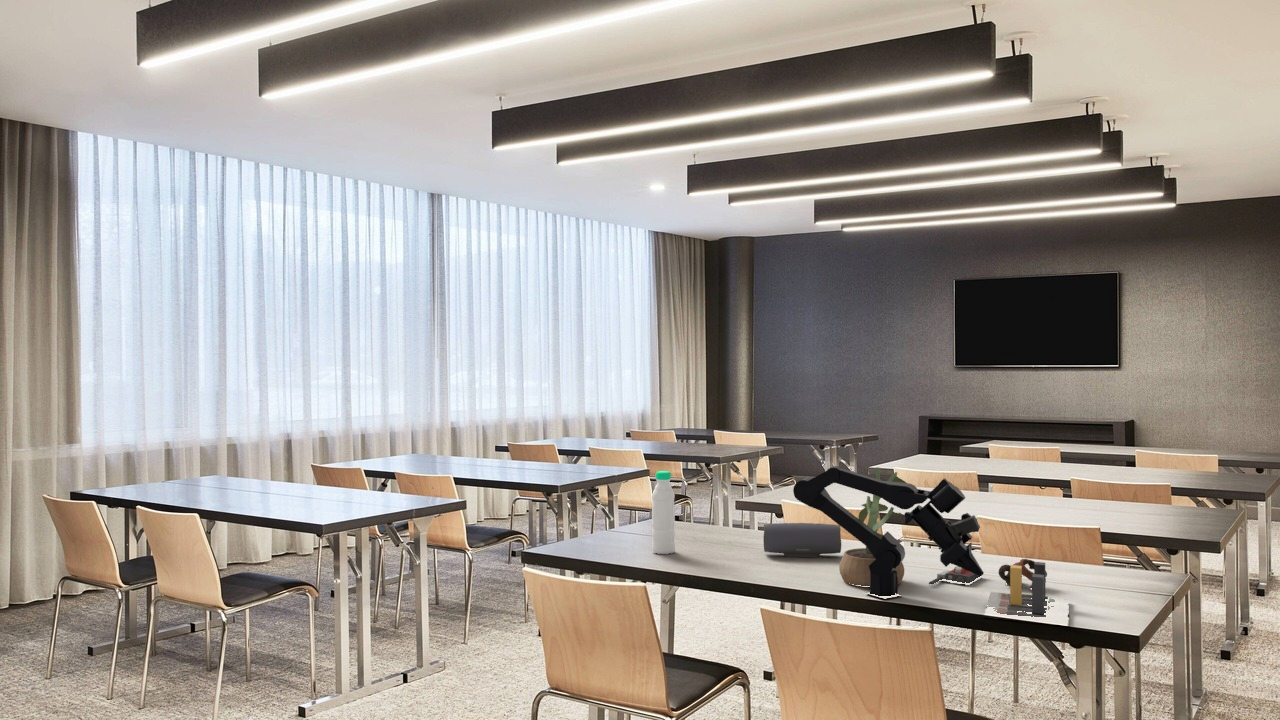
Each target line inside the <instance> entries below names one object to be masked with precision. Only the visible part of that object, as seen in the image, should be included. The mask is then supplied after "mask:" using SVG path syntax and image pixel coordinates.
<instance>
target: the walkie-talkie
mask: <svg viewBox="0 0 1280 720" xmlns="http://www.w3.org/2000/svg"><path fill="white" fill-rule="evenodd" d="M978 577H980V576H979V575H976V574H974V573H972V572H970V571H968V570H965V569H963V568H961V567H958V566H955V567H954V569H952V570H945V571H941V572H940V573H937V574H936V578H934V579H932V580H930V581H929V582H928V584H929V585H930V584H934V583H935V584H937V583H939V582H940V581H939V580H942V579H946V580H952V581H957V582H962V583H965V582H966V583H970V582H972V581H974V580H975V579H976V578H978ZM938 581H939V582H938ZM936 582H937V583H936ZM935 584H934V585H935Z"/></svg>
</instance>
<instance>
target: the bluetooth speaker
mask: <svg viewBox="0 0 1280 720" xmlns="http://www.w3.org/2000/svg"><path fill="white" fill-rule="evenodd" d="M763 552H765V553H770V554H771V553H773V554H783V556H785V557H786V556H790V557H789V558H820V556H821V555H827V554H828V555H831V554H840V553H841V552H842V538H841V526H840V525H838V524H831V523H830V524H829V523H828V524H827V523H813V522H809V523H808V522H784V523H783V522H782V523H781V522H779V523H777V522H776V523H766V524H763Z"/></svg>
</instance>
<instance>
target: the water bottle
mask: <svg viewBox="0 0 1280 720" xmlns="http://www.w3.org/2000/svg"><path fill="white" fill-rule="evenodd" d="M671 479H672V474H671V472H670V471H668V470H667V471H666V470H665V471H664V470H662V471H661V470H660V471H656V473H655V481H656V485H655V486H654V490H653V491H652V493H651V498H652V504H651V507H652V508H651V509H652V510H651V520H652V521H651V522H652V531H651V534H652V535H651V536H652V537H651V538H652V544H651V545H652V546H651V551H652V552H653V553H654V554H656V553H657V555H670V554H669V553H671V554H673V553H675V551H676V545H675V544H676V542H675V536H676V531H675V521H676V517H675V516H676V509H675V497H676V496H675V492H674V490H673V487H672V485H671V484H670V481H671Z"/></svg>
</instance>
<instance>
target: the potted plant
mask: <svg viewBox="0 0 1280 720" xmlns="http://www.w3.org/2000/svg"><path fill="white" fill-rule="evenodd" d="M874 478H875V479H879V480H881V467H875V477H874ZM886 481H888V482H901V483H907V481H905V480H903V479H902V478H900V477H898V471H895V472H894V473H892V475H891V476H890V477H889V478H888V479H887V480H886ZM881 499H882V498H881V497H879V496H876V495H873V494H872V500H871V497H870V495H867V496H866V500H865V501H866V503H863V504H861V506H862V507H863V508H861V510H860V511H859V512H858V517H857V518H858V519H859V520H861V521H862V522H863V523H865V521H866V520H867V519H866V518H868V521H867V524H866V525H867V526H869V527H870V528H871V529H872V530H874V531H875V532H877V533H878V530H879V529H880V528H882V527H883V526H884V525H885V523H887V521H888V520H889V518H890V517H905V514H903V513H901V512H895V511H894V509H895V507H893V506H891V507H890V508H889V507H888V506H887V505H885V504H882V503H880V500H881ZM888 509H889V510H888ZM887 510H888V511H887ZM886 511H887V513H886V514H885V515H884V516H883V518H882V519H881V520H880V521H879V522H878V519H879V518H880V517H879V515H880V513H881V512H886ZM874 560H875V558H874V557H873V555H872V554H871V552H870V551H869V550H868V548H867V547H866V546H865V547H863V548H861V547H860V548H852V549H851V548H850V549H848V550H845V551H844V552H843V555H842V558H841V560H840V563H839V567H838V569H839V570H838V571H839V575H840V577H841V578H842V581H844V582H845V583H846V582H847V584H848V583H850V584H854V585H861V586H870V569H869V565H870V564H871V563H872V562H873V561H874ZM894 570H895V571H897V577H898V585H899V583H900V584H901V583H902V582H903V578H904V576H905V566H904V563H903V561H902V562H901V563H900V564H899V565H898V566H897V567H896V569H894ZM850 584H849V585H850Z"/></svg>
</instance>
